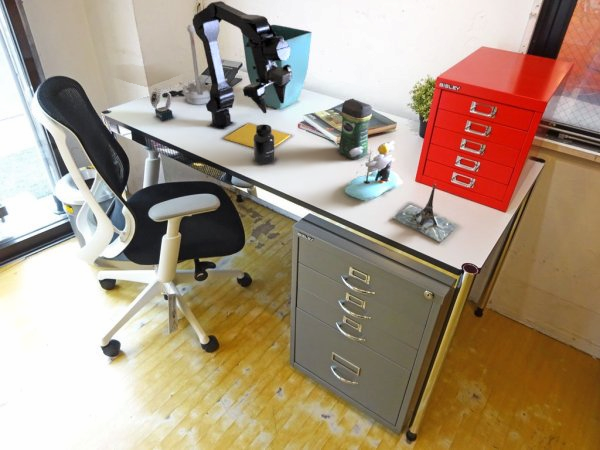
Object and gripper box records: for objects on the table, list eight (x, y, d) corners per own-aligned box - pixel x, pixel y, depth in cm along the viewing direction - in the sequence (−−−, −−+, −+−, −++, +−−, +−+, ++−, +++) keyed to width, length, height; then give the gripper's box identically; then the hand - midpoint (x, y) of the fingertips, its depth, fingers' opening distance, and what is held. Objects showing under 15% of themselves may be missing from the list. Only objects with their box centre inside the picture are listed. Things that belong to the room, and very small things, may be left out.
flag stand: (182, 95, 193) (171, 21, 174) (212, 92, 196) (204, 20, 178) (185, 106, 183) (174, 30, 165) (217, 103, 186) (209, 28, 168)
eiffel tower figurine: (391, 219, 122) (398, 178, 114) (410, 204, 128) (418, 164, 120) (439, 243, 114) (451, 200, 106) (457, 226, 120) (470, 184, 112)
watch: (151, 118, 173) (146, 90, 166) (170, 112, 178) (165, 85, 171) (158, 122, 170) (153, 94, 163) (177, 117, 174) (172, 89, 168)
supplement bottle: (271, 166, 144) (271, 132, 137) (251, 164, 145) (250, 130, 138) (276, 156, 150) (276, 123, 142) (257, 154, 151) (256, 121, 143)
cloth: (224, 138, 160) (224, 137, 160) (248, 124, 170) (248, 123, 170) (267, 152, 152) (267, 151, 152) (290, 135, 163) (290, 134, 162)
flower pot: (274, 90, 199) (273, 23, 182) (310, 100, 190) (312, 31, 173) (245, 103, 186) (240, 32, 169) (282, 115, 177) (281, 41, 160)
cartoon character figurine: (384, 171, 143) (390, 128, 134) (408, 185, 136) (417, 141, 127) (337, 190, 134) (340, 145, 124) (360, 206, 127) (366, 160, 118)
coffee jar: (370, 154, 152) (377, 103, 141) (355, 162, 148) (360, 109, 136) (350, 145, 157) (354, 94, 146) (334, 151, 153) (338, 100, 142)
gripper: (262, 69, 129) (274, 120, 137) (300, 51, 140) (309, 99, 148) (236, 69, 135) (249, 118, 144) (274, 52, 147) (284, 98, 155)
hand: (273, 108), depth 147 cm, fingers open, 9 cm apart
